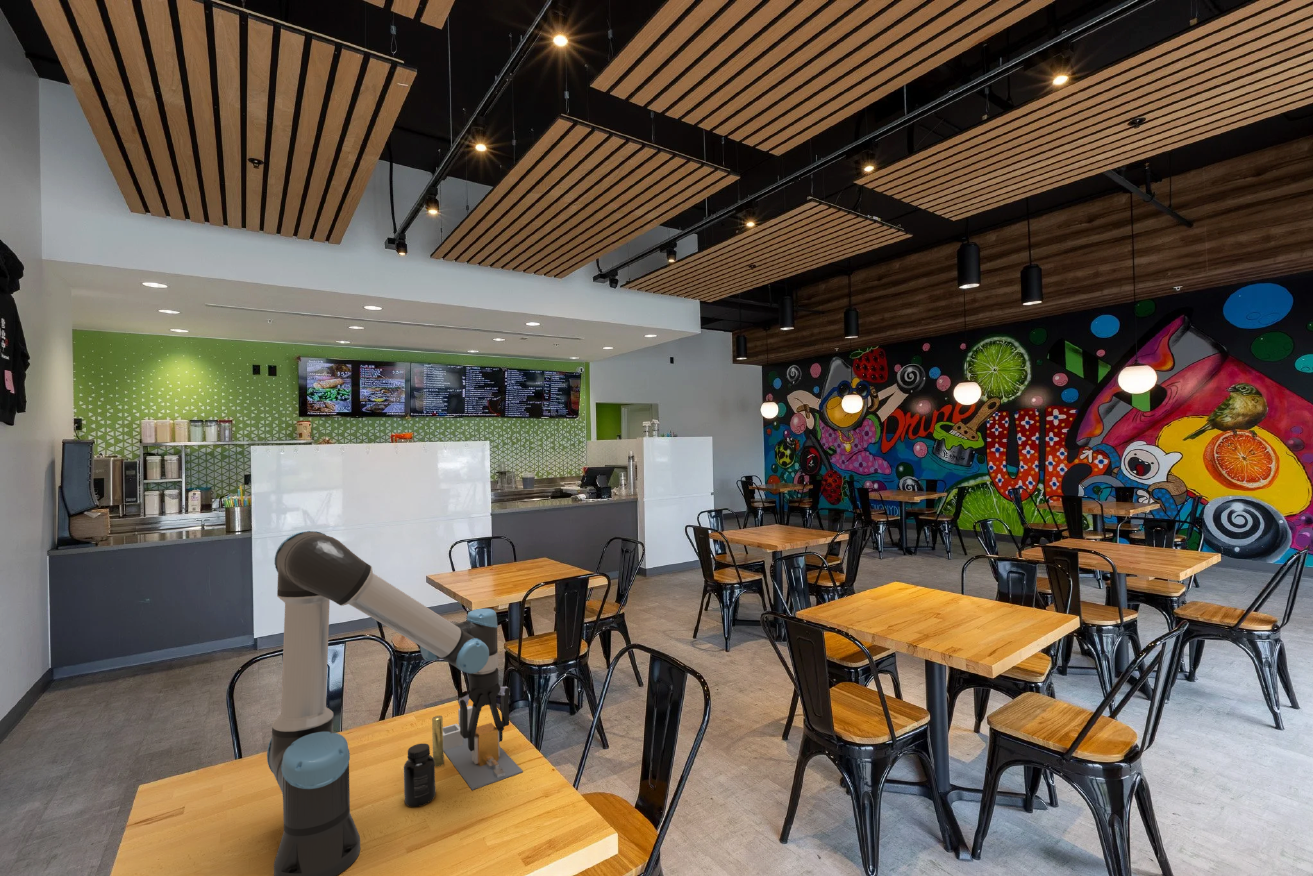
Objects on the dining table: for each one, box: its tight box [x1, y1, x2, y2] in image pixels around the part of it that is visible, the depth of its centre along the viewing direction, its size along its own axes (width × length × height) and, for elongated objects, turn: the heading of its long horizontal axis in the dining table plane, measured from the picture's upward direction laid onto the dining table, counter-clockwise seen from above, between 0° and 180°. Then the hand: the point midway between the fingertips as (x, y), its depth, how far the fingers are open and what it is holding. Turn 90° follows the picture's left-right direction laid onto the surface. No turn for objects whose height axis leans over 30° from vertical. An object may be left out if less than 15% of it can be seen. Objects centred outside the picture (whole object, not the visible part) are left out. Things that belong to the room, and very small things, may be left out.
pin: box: [431, 715, 445, 768], centre depth 158 cm, size 3×3×12 cm
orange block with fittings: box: [475, 722, 505, 779], centre depth 155 cm, size 14×5×8 cm, turn 35°
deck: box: [443, 705, 524, 791], centre depth 161 cm, size 30×13×8 cm, turn 35°
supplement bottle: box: [403, 742, 437, 808], centre depth 142 cm, size 7×7×12 cm
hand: (486, 757), depth 158 cm, fingers closed on orange block with fittings, 5 cm apart
